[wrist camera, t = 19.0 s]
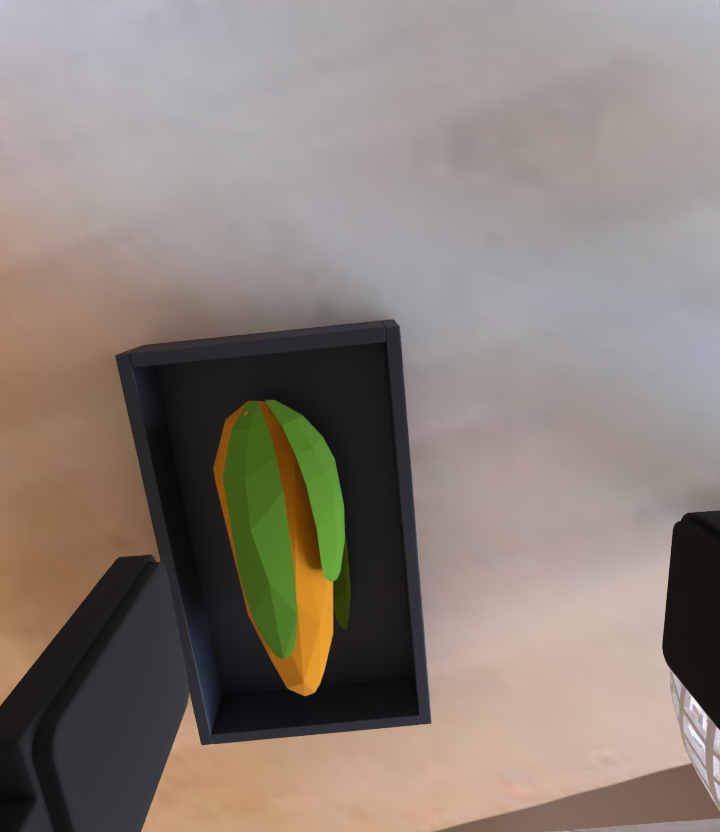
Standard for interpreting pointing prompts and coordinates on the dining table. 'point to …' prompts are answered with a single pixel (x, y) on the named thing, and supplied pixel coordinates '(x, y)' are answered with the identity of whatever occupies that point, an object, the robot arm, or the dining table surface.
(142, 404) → the black tray
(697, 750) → the heart
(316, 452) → the corn
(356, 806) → the dining table surface
